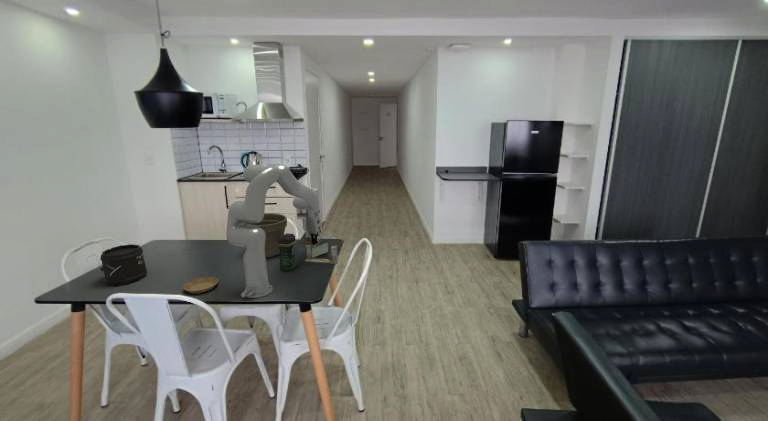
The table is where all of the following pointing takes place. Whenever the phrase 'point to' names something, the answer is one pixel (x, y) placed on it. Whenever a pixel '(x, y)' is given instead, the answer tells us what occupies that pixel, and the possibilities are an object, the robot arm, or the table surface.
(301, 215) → the display case
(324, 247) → the gate
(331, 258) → the gate frame
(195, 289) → the plant saucer
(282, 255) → the coffee jar
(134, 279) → the black round bag
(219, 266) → the table surface
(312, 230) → the robot arm
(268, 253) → the plant pot
